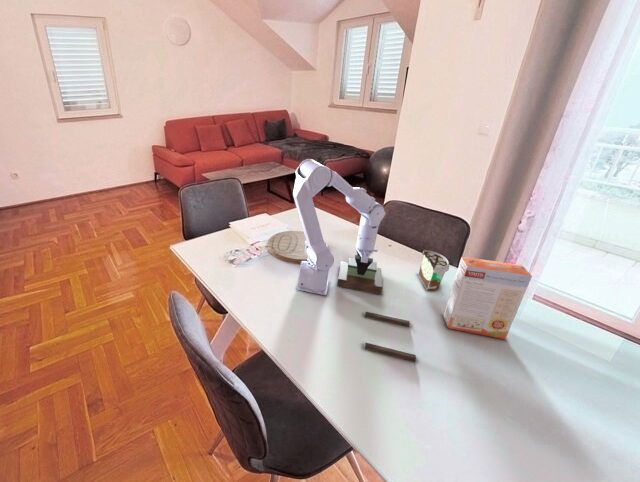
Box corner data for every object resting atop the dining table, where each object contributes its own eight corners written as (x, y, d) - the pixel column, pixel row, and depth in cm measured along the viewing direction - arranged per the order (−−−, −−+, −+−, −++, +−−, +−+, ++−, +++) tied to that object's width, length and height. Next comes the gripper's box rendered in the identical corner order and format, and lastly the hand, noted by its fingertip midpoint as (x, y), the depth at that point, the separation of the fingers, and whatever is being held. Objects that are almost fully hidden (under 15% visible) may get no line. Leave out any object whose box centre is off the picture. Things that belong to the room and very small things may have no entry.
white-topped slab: (337, 286, 108) (338, 278, 107) (339, 268, 118) (340, 261, 117) (380, 294, 103) (382, 287, 102) (379, 275, 114) (381, 268, 113)
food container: (448, 295, 103) (457, 269, 99) (428, 293, 104) (435, 267, 100) (435, 274, 114) (442, 250, 110) (417, 272, 115) (423, 248, 111)
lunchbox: (346, 274, 109) (348, 265, 107) (347, 267, 113) (348, 257, 112) (374, 280, 106) (376, 270, 104) (374, 272, 110) (376, 262, 109)
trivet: (327, 237, 141) (327, 233, 140) (328, 267, 119) (329, 262, 118) (272, 232, 146) (272, 228, 146) (263, 259, 124) (263, 255, 123)
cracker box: (497, 325, 90) (523, 264, 82) (505, 340, 85) (534, 276, 77) (441, 315, 94) (461, 255, 86) (446, 328, 89) (468, 266, 81)
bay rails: (364, 348, 83) (365, 345, 82) (364, 314, 95) (365, 311, 94) (415, 361, 79) (416, 358, 78) (408, 324, 91) (409, 320, 90)
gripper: (381, 247, 96) (373, 284, 102) (379, 228, 109) (372, 261, 114) (356, 243, 98) (350, 279, 104) (357, 225, 111) (352, 258, 116)
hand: (360, 270), depth 109 cm, fingers closed on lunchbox, 5 cm apart
